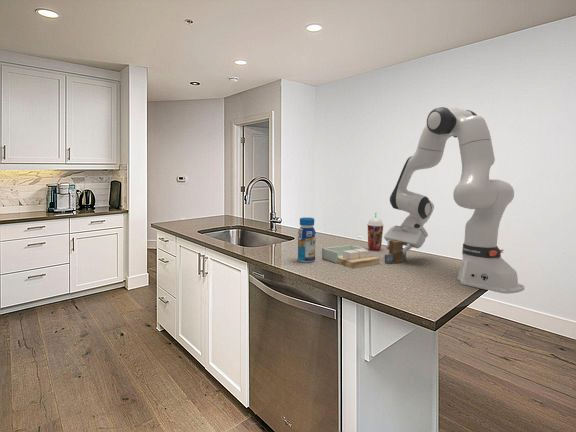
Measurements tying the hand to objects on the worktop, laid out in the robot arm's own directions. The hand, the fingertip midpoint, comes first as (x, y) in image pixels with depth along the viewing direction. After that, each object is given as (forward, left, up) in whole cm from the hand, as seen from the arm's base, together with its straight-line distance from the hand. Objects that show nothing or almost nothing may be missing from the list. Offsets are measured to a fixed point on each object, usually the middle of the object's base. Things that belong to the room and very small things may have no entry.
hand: (394, 250), depth 169 cm
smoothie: (+25, -12, -6) cm, 28 cm away
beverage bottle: (+22, +34, -6) cm, 41 cm away
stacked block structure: (0, -1, -6) cm, 6 cm away
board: (+6, +16, -5) cm, 18 cm away
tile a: (+8, +13, -3) cm, 16 cm away
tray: (+16, +16, -5) cm, 24 cm away
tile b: (+8, +19, -3) cm, 21 cm away
